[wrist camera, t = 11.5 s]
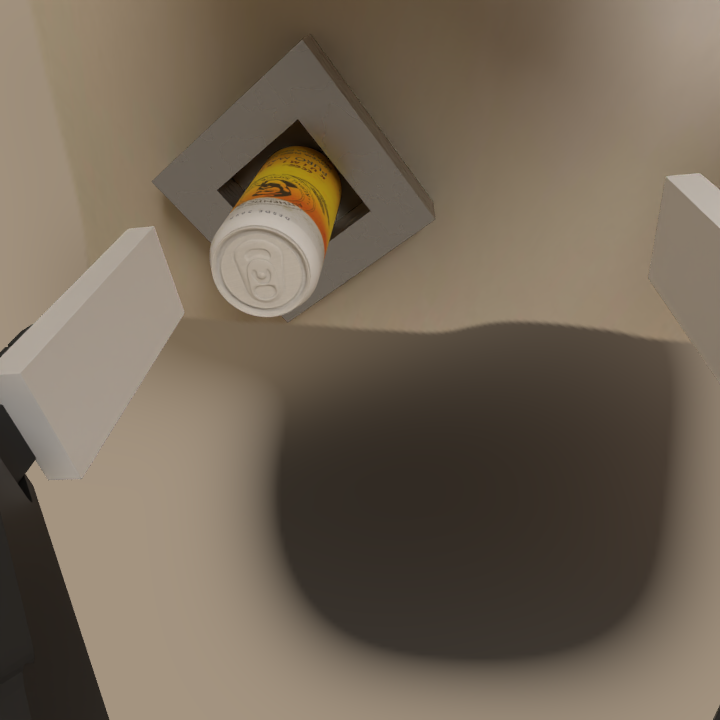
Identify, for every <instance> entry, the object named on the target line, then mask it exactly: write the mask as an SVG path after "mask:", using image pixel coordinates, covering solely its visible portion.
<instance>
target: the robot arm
mask: <svg viewBox="0 0 720 720" xmlns="http://www.w3.org/2000/svg"><path fill="white" fill-rule="evenodd" d="M648 279H649V280H650V282H651V283H652V285H653V286H654V288H655V289H656V291H657V292H658V293H659V295H660V296H661V298H662V299H663V301H664V302H665V304H666V305H667V307H668V308H669V310H670V311H671V313H672V314H673V316H674V317H675V319H676V320H677V322H678V323H679V325H680V326H681V327H682V329H683V330H684V332H685V333H686V335H687V336H688V338H689V339H690V341H691V342H692V344H693V345H694V347H695V348H696V350H697V351H698V353H699V354H700V356H701V357H702V358H703V360H704V362H705V363H706V364H707V366H708V367H709V369H710V370H711V372H712V373H713V375H714V376H715V378H716V379H717V381H718V382H719V384H720V190H719V189H718V188H717V187H716V186H715V185H714V184H712V183H711V182H710V181H709V180H708V179H706V178H705V177H704V176H703V175H702V174H700V173H694V174H684V175H673V176H666V177H665V183H664V189H663V195H662V200H661V206H660V212H659V218H658V223H657V229H656V235H655V241H654V247H653V252H652V258H651V264H650V270H649V275H648ZM184 313H185V312H184V309H183V306H182V304H181V301H180V298H179V295H178V292H177V289H176V287H175V284H174V281H173V278H172V275H171V273H170V270H169V267H168V264H167V261H166V258H165V256H164V253H163V250H162V247H161V244H160V241H159V239H158V236H157V233H156V230H155V227H154V226H151V227H140V228H130V229H127V230H126V231H125V232H124V233H123V234H122V235H121V236H120V237H119V238H118V239H117V240H116V241H115V242H114V243H113V244H112V245H111V246H110V247H109V248H108V249H107V250H106V251H105V252H104V253H103V254H102V255H101V256H100V257H99V258H98V259H97V260H96V261H95V262H94V263H93V264H92V265H91V266H90V267H89V268H88V269H87V270H86V272H85V273H84V274H83V275H82V276H81V277H80V278H79V279H78V280H77V281H76V282H75V283H74V284H73V285H72V286H71V287H70V288H69V289H68V290H67V291H66V292H65V293H64V294H63V295H62V296H61V297H60V298H59V299H58V300H57V301H56V302H55V303H54V304H53V305H52V306H51V307H50V308H49V309H48V310H47V311H46V312H45V313H44V314H43V315H42V316H41V317H40V318H39V319H38V320H37V321H36V322H35V323H34V324H32V325H31V326H29V327H27V328H26V329H24V330H22V331H21V332H20V333H19V334H18V335H17V336H16V337H15V338H14V339H13V340H12V341H11V342H10V343H9V344H8V347H5V348H4V349H3V350H2V351H1V352H0V720H109V717H108V714H107V711H106V708H105V705H104V702H103V699H102V696H101V693H100V690H99V687H98V683H97V680H96V677H95V674H94V671H93V668H92V665H91V662H90V659H89V656H88V653H87V650H86V647H85V643H84V640H83V637H82V634H81V631H80V628H79V625H78V622H77V619H76V616H75V613H74V610H73V607H72V604H71V600H70V597H69V594H68V591H67V588H66V585H65V582H64V579H63V576H62V573H61V570H60V567H59V564H58V561H57V557H56V554H55V551H54V548H53V545H52V542H51V539H50V536H49V533H48V530H47V527H46V524H45V521H44V517H43V514H42V511H41V508H40V505H39V502H38V499H37V496H36V493H35V490H34V487H33V485H32V483H31V482H30V480H29V479H28V478H27V476H26V475H25V473H26V472H27V470H28V469H29V468H30V466H31V465H32V463H33V462H34V461H35V460H36V462H37V463H38V464H39V466H40V468H41V469H42V471H43V473H44V474H45V476H46V477H47V479H48V480H64V479H82V478H83V476H84V475H85V473H86V472H87V470H88V468H89V467H90V465H91V463H92V462H93V460H94V459H95V457H96V455H97V454H98V452H99V450H100V449H101V447H102V446H103V444H104V442H105V440H106V439H107V438H108V436H109V434H110V433H111V431H112V429H113V428H114V426H115V425H116V423H117V421H118V420H119V418H120V417H121V415H122V413H123V412H124V410H125V408H126V407H127V405H128V404H129V402H130V400H131V399H132V397H133V395H134V394H135V392H136V391H137V389H138V387H139V386H140V384H141V383H142V381H143V379H144V378H145V376H146V374H147V373H148V371H149V370H150V368H151V366H152V365H153V363H154V362H155V360H156V358H157V357H158V355H159V353H160V352H161V350H162V349H163V347H164V345H165V344H166V342H167V341H168V339H169V337H170V336H171V334H172V332H173V331H174V329H175V328H176V326H177V324H178V323H179V321H180V320H181V318H182V316H183V315H184ZM713 720H720V706H719V708H718V711H717V712H716V714H715V716H714V718H713Z"/></svg>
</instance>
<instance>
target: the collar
mask: <svg viewBox="0 0 720 720" xmlns="http://www.w3.org/2000/svg"><path fill="white" fill-rule="evenodd" d="M296 120H299V121H300V122H301V124H302V125H303V126H304V127H305V129H306V130H307V131H308V132H309V134H310V135H311V136H312V137H313V139H314V140H315V141H316V142H317V144H318V145H319V146H320V147H321V149H322V150H323V151H324V153H325V154H326V155H327V156H328V158H329V159H330V160H331V161H332V163H333V164H334V165H335V166H336V168H337V169H338V170H339V171H340V173H341V174H342V175H343V176H344V178H345V179H346V180H347V182H348V183H349V184H350V185H351V187H352V188H353V189H354V190H355V192H356V193H357V194H358V195H359V197H360V198H361V199H362V200H363V202H362V203H361V204H359V205H358V206H357V207H355V208H354V209H353V210H352V211H350V212H349V213H348V214H346V215H345V216H344V217H342V218H341V219H340V220H338V221H337V222H336V223H334V226H333V229H332V233H331V237H330V240H329V244H328V248H327V251H326V255H325V259H324V262H323V266H322V270H321V273H320V277H319V280H318V283H317V286H316V288H315V290H314V292H313V293H312V295H311V296H310V297H309V298H308V299H307V300H306V301H305V302H304V303H303V304H302V305H300V306H298V307H297V308H295V309H293V310H292V311H290V312H288V313H286V314H283V315H281V316H282V317H283V318H284V319H285V320H286V321H287V322H289V321H290V320H292V319H293V318H295V317H296V316H298V315H299V314H300V313H302V312H303V311H305V310H306V309H308V308H309V307H311V306H312V305H313V304H315V303H316V302H318V301H319V300H321V299H322V298H323V297H325V296H326V295H328V294H329V293H331V292H332V291H333V290H335V289H336V288H338V287H339V286H341V285H342V284H343V283H345V282H346V281H348V280H349V279H351V278H352V277H354V276H355V275H356V274H358V273H359V272H361V271H362V270H364V269H365V268H366V267H368V266H369V265H371V264H372V263H374V262H375V261H376V260H378V259H379V258H381V257H382V256H384V255H385V254H387V253H388V252H389V251H391V250H392V249H394V248H395V247H397V246H398V245H399V244H401V243H402V242H404V241H405V240H407V239H408V238H409V237H411V236H412V235H414V234H415V233H417V232H418V231H419V230H421V229H422V228H424V227H425V226H427V225H428V224H430V223H431V222H432V221H434V220H435V213H434V204H433V201H432V200H431V199H430V197H429V196H428V194H427V193H426V192H425V190H424V189H423V188H422V186H421V185H420V184H419V182H418V181H417V179H416V178H415V177H414V175H413V174H412V173H411V171H410V170H409V168H408V167H407V166H406V164H405V163H404V162H403V160H402V159H401V158H400V156H399V155H398V153H397V152H396V151H395V149H394V148H393V147H392V145H391V144H390V142H389V141H388V140H387V138H386V137H385V136H384V134H383V133H382V132H381V130H380V129H379V127H378V126H377V125H376V123H375V122H374V121H373V119H372V118H371V116H370V115H369V114H368V112H367V111H366V110H365V108H364V107H363V106H362V104H361V103H360V101H359V100H358V99H357V97H356V96H355V95H354V93H353V92H352V90H351V89H350V88H349V86H348V85H347V84H346V82H345V81H344V80H343V78H342V77H341V75H340V74H339V73H338V71H337V70H336V69H335V67H334V66H333V64H332V63H331V62H330V60H329V59H328V58H327V56H326V55H325V54H324V52H323V51H322V49H321V48H320V47H319V45H318V44H317V43H316V41H315V40H314V38H313V37H312V36H311V34H309V35H307V36H306V37H305V38H303V39H302V40H301V41H300V42H299V43H298V44H297V45H296V46H295V47H293V48H292V49H291V50H290V51H289V52H288V53H287V54H286V55H285V56H284V57H283V58H282V59H281V60H280V61H279V62H278V63H277V64H275V65H274V66H273V67H272V68H271V69H270V70H269V71H268V72H267V73H266V74H265V75H264V76H263V77H262V78H261V79H260V80H259V81H257V82H256V83H255V84H254V85H253V86H252V87H251V88H250V89H249V90H248V91H247V92H246V93H245V94H244V95H243V96H242V97H241V98H239V99H238V100H237V101H236V102H235V103H234V104H233V105H232V106H231V107H230V108H229V109H228V110H227V111H226V112H225V113H224V114H223V115H222V116H220V117H219V118H218V119H217V120H216V121H215V122H214V123H213V124H212V125H211V126H210V127H209V128H208V129H207V130H206V131H205V132H204V133H202V134H201V135H200V136H199V137H198V138H197V139H196V140H195V141H194V142H193V143H192V144H191V145H190V146H189V147H188V148H187V149H186V150H184V151H183V152H182V153H181V154H180V155H179V156H178V157H177V158H176V159H175V160H174V161H173V162H172V163H171V164H170V165H169V166H168V167H166V168H165V169H164V170H163V171H162V172H161V173H160V174H159V175H158V176H157V177H156V178H155V179H154V180H153V181H152V183H153V184H154V185H155V186H156V187H157V188H158V189H159V190H160V191H161V192H162V193H163V194H164V195H165V196H166V197H167V198H168V199H169V200H170V201H171V202H172V203H173V204H174V205H175V206H176V207H177V208H178V209H179V210H180V212H181V213H182V214H183V215H184V216H185V217H186V218H187V219H188V220H189V221H190V222H191V223H192V224H193V225H194V226H195V227H196V228H197V229H198V230H199V231H200V232H201V233H202V234H203V235H204V236H205V237H206V238H207V239H208V241H209V242H210V243H212V240H213V238H214V236H215V234H216V232H217V231H218V229H219V228H220V226H221V225H222V224H223V222H224V221H225V219H226V218H227V217H228V215H229V214H230V212H231V211H232V209H233V208H234V207H235V205H236V204H237V202H238V201H239V199H240V198H241V197H242V195H243V194H244V191H243V190H242V189H241V188H240V187H239V185H238V184H237V183H236V182H235V181H234V180H233V179H232V178H231V177H232V176H234V175H235V174H236V173H237V172H238V171H239V170H240V169H242V168H243V167H244V166H245V165H246V164H247V163H248V162H250V161H251V160H252V159H253V158H254V157H255V156H256V155H258V154H259V153H260V152H261V151H262V150H263V149H264V148H266V147H267V146H268V145H269V144H270V143H271V142H272V141H274V140H275V139H276V138H277V137H278V136H279V135H280V134H282V133H283V132H284V131H285V130H286V129H287V128H288V127H290V126H291V125H292V124H293V123H294V122H295V121H296Z"/></svg>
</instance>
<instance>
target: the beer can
mask: <svg viewBox="0 0 720 720" xmlns="http://www.w3.org/2000/svg"><path fill="white" fill-rule="evenodd" d="M341 193H342V187H341V181H340V177H339V175H338V172H337V170H336V168H335V167H334V165H333V164H332V163H331V162H330V160H329V159H327V158H326V157H325V156H324V155H323V154H321V153H320V152H318V151H316V150H314V149H311V148H308V147H303V146H291V147H286V148H283V149H281V150H279V151H277V152H275V153H274V154H273V155H271V156H270V157H269V158H268V160H267V161H266V162H265V164H264V165H263V167H262V168H261V169H260V171H259V172H258V174H257V175H256V177H255V178H254V179H253V181H252V182H251V184H250V185H249V187H248V188H247V189H246V191H245V192H244V194H243V195H242V197H241V198H240V199H239V201H238V202H237V204H236V205H235V207H234V208H233V209H232V211H231V212H230V214H229V215H228V217H227V218H226V219H225V221H224V222H223V224H222V225H221V226H220V228H219V229H218V231H217V232H216V234H215V236H214V238H213V240H212V243H211V247H210V266H211V271H212V276H213V280H214V283H215V285H216V287H217V289H218V291H219V292H220V294H221V295H222V296H223V297H224V298H225V300H227V301H228V302H229V303H230V304H231V305H232V306H234V307H235V308H237V309H238V310H240V311H242V312H244V313H247V314H250V315H253V316H258V317H276V316H280V315H283V314H286V313H288V312H290V311H292V310H293V309H295V308H297V307H298V306H300V305H302V304H303V303H304V302H305V301H306V300H307V299H308V298H309V297H310V296H311V295H312V293H313V292H314V290H315V288H316V286H317V283H318V280H319V277H320V273H321V270H322V266H323V262H324V259H325V255H326V251H327V248H328V244H329V240H330V237H331V233H332V229H333V226H334V222H335V218H336V215H337V211H338V207H339V204H340V200H341Z"/></svg>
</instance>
